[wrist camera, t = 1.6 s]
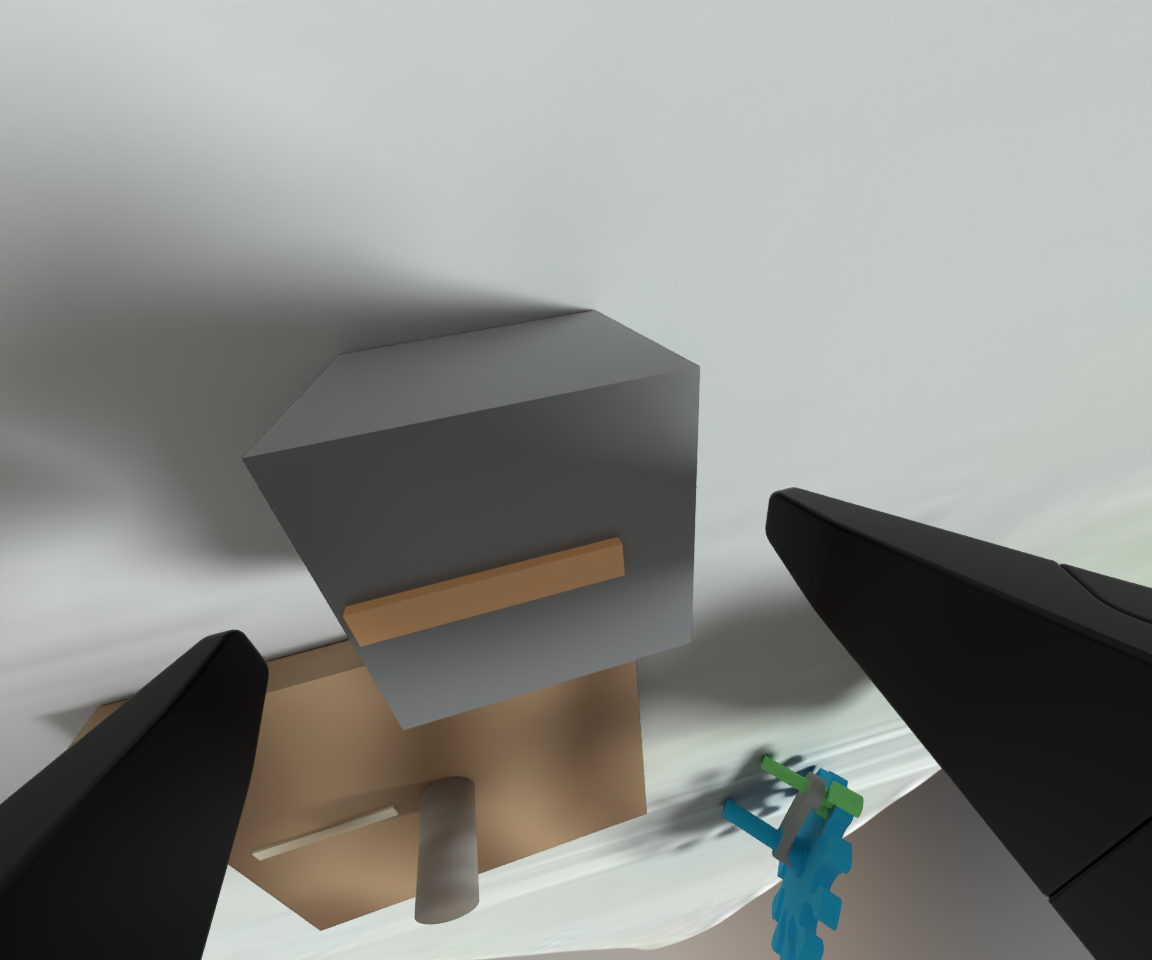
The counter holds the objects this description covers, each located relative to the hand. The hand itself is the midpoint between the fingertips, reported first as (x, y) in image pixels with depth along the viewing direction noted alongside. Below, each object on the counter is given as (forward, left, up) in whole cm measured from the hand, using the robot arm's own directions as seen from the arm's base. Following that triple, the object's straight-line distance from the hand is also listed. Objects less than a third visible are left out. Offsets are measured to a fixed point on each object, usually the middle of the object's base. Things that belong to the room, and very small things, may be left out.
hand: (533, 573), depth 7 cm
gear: (-12, +27, -6) cm, 30 cm away
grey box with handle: (0, 0, -5) cm, 5 cm away
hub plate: (+5, +13, -5) cm, 15 cm away
